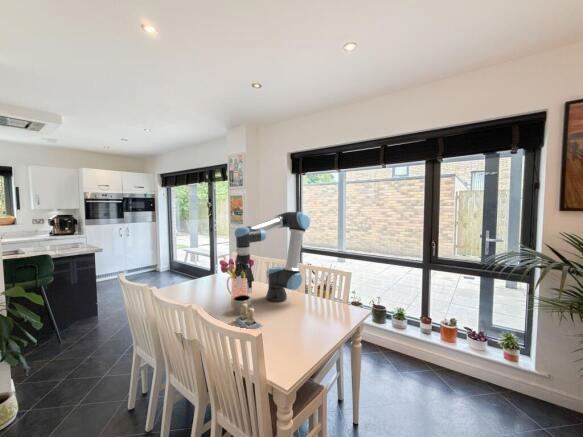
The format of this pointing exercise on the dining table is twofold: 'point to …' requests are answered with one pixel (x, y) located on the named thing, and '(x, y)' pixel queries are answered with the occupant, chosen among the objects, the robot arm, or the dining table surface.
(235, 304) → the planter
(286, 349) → the dining table surface
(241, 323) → the board
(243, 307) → the peg
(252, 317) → the peg
